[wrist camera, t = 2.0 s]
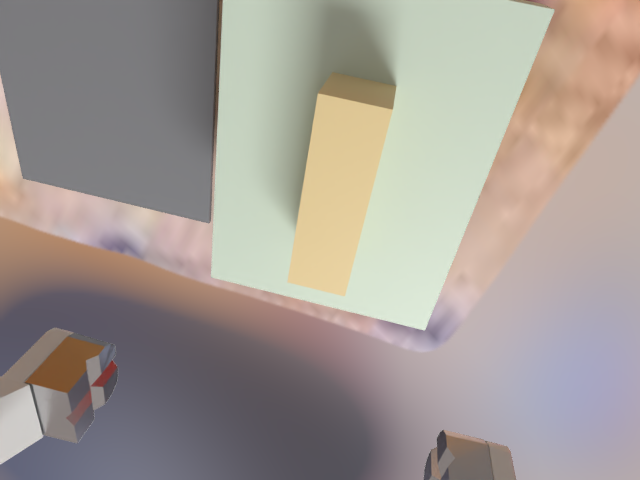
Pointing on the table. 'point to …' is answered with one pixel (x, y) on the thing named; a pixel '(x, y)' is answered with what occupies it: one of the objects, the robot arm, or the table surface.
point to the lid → (361, 142)
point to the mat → (115, 97)
